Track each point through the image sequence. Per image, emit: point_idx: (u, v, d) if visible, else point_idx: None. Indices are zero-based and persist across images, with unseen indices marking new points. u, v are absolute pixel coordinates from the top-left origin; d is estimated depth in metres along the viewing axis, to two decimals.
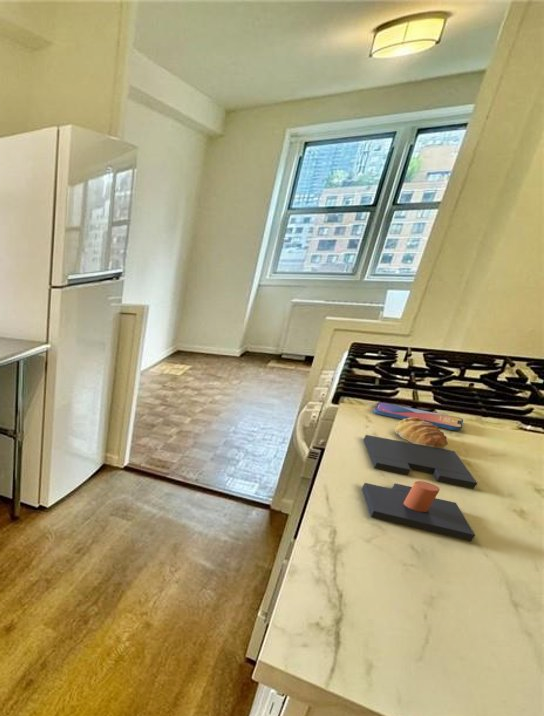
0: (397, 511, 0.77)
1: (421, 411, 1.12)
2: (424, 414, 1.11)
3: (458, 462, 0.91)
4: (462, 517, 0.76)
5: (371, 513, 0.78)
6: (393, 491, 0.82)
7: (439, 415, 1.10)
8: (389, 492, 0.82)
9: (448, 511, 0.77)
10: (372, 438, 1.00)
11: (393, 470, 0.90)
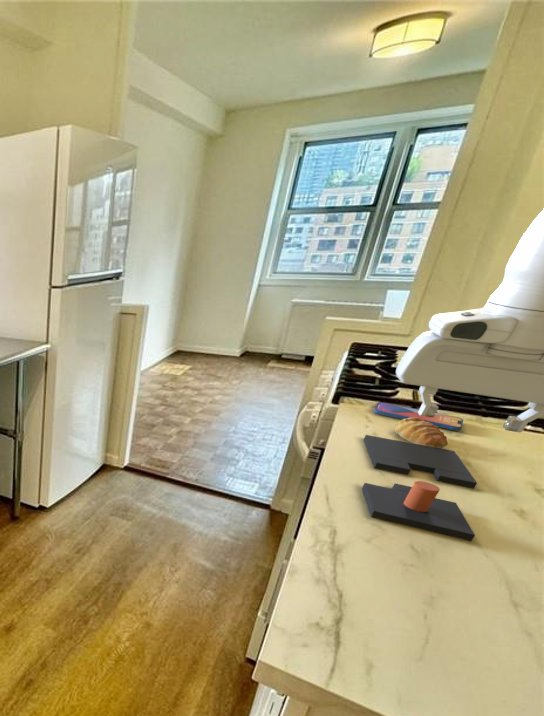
0: (397, 511, 0.77)
1: None
2: None
3: (458, 462, 0.91)
4: (462, 517, 0.76)
5: (371, 513, 0.78)
6: (393, 491, 0.82)
7: (439, 415, 1.10)
8: (389, 492, 0.82)
9: (448, 511, 0.77)
10: (372, 438, 1.00)
11: (393, 470, 0.90)
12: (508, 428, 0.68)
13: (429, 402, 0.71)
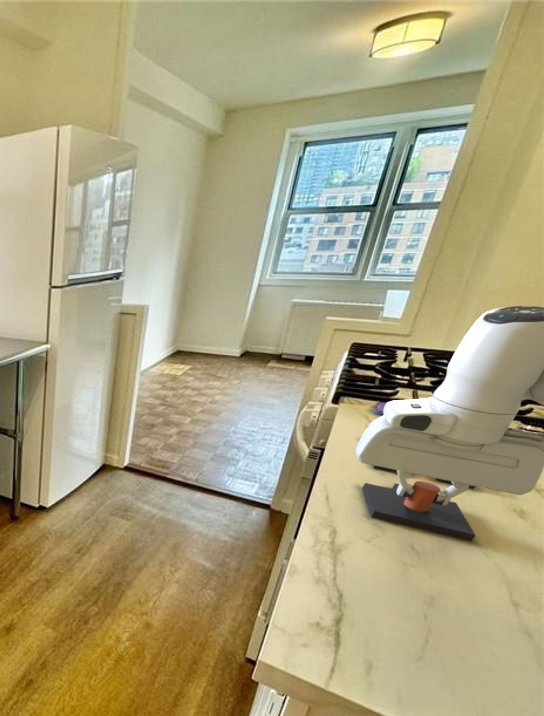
0: (397, 511, 0.77)
1: None
2: None
3: None
4: (462, 517, 0.75)
5: (371, 513, 0.78)
6: (393, 491, 0.82)
7: None
8: (389, 492, 0.82)
9: (448, 511, 0.77)
10: None
11: (393, 470, 0.90)
12: (434, 502, 0.76)
13: (405, 484, 0.77)
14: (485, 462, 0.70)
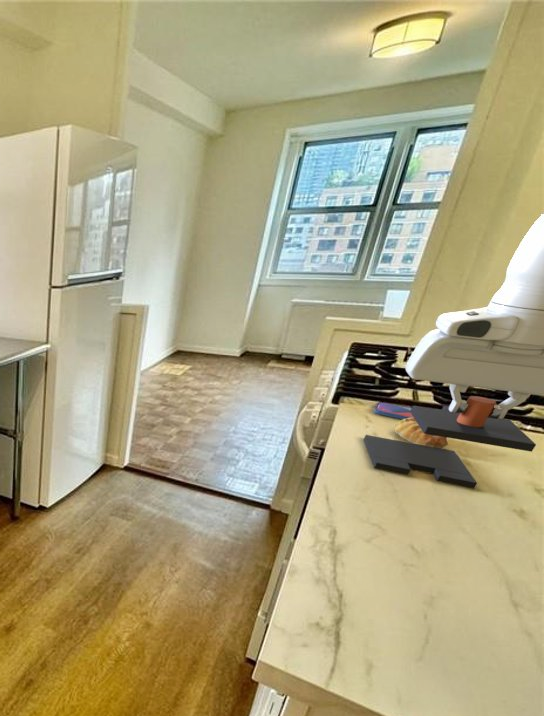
0: (451, 427, 0.75)
1: None
2: None
3: (458, 462, 0.91)
4: (519, 431, 0.74)
5: (424, 430, 0.76)
6: (444, 411, 0.80)
7: None
8: (440, 412, 0.80)
9: (504, 426, 0.75)
10: (372, 438, 1.00)
11: (393, 470, 0.90)
12: (490, 415, 0.74)
13: (460, 399, 0.75)
14: None
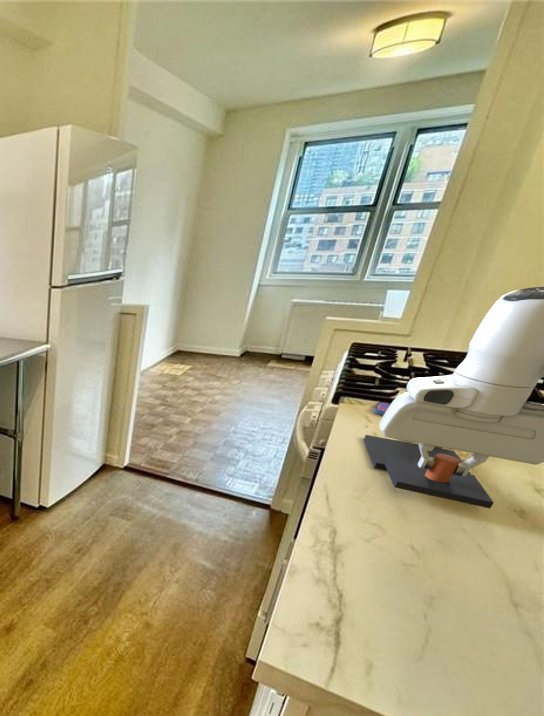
0: (419, 482, 0.82)
1: None
2: None
3: None
4: (481, 487, 0.80)
5: (395, 484, 0.82)
6: (414, 465, 0.87)
7: None
8: (410, 465, 0.87)
9: (467, 482, 0.82)
10: (372, 438, 1.00)
11: None
12: (454, 473, 0.81)
13: (427, 457, 0.82)
14: (503, 433, 0.75)
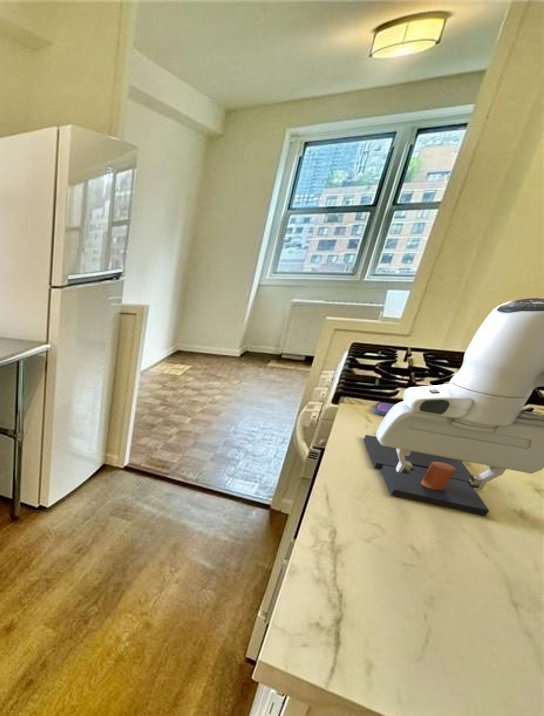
0: (415, 489, 0.82)
1: None
2: None
3: (458, 462, 0.91)
4: (476, 495, 0.81)
5: (391, 492, 0.83)
6: (411, 472, 0.88)
7: None
8: None
9: (463, 490, 0.82)
10: (372, 438, 1.00)
11: None
12: (471, 485, 0.80)
13: (404, 461, 0.83)
14: (499, 443, 0.76)
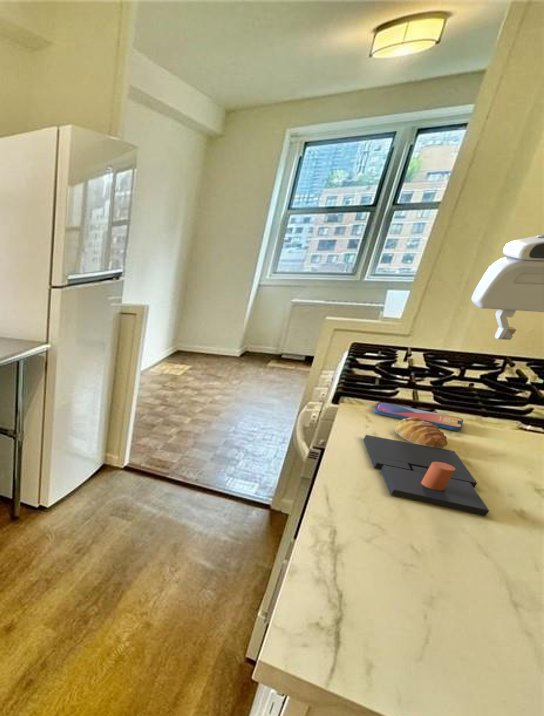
0: (415, 489, 0.82)
1: (421, 411, 1.12)
2: (424, 414, 1.11)
3: (458, 462, 0.91)
4: (476, 495, 0.81)
5: (391, 492, 0.83)
6: (411, 472, 0.88)
7: (439, 415, 1.10)
8: (407, 473, 0.87)
9: (463, 490, 0.82)
10: (372, 438, 1.00)
11: None
12: None
13: (507, 325, 0.76)
14: None
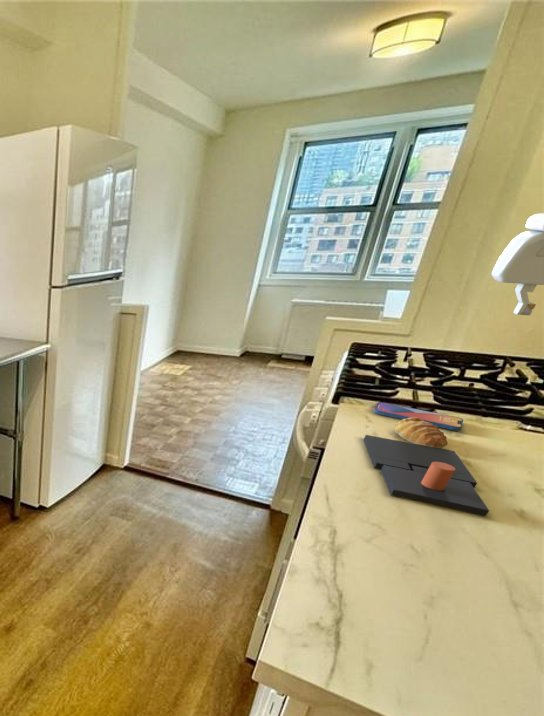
0: (415, 489, 0.82)
1: (421, 411, 1.12)
2: (424, 414, 1.11)
3: (458, 462, 0.91)
4: (476, 495, 0.81)
5: (391, 492, 0.83)
6: (411, 472, 0.88)
7: (439, 415, 1.10)
8: (407, 473, 0.87)
9: (463, 490, 0.82)
10: (372, 438, 1.00)
11: None
12: None
13: (527, 300, 0.75)
14: None
